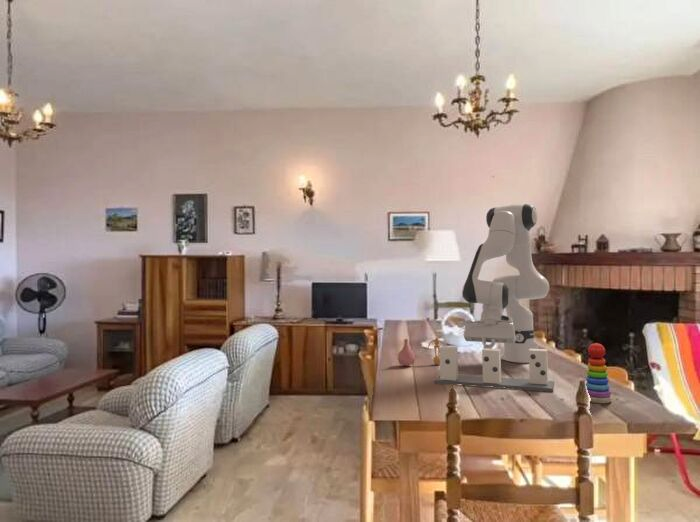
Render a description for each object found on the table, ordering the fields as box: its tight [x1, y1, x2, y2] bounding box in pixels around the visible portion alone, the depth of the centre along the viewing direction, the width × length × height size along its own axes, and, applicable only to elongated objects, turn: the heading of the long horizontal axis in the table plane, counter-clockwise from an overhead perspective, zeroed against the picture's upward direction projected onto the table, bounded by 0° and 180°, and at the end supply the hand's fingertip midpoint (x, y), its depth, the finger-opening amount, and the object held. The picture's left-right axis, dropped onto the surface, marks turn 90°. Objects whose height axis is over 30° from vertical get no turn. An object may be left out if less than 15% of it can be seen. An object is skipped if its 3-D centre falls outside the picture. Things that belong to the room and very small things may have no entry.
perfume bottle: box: [397, 338, 416, 367], centre depth 228 cm, size 8×8×12 cm
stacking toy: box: [585, 342, 613, 404], centre depth 166 cm, size 8×8×19 cm
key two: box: [481, 347, 502, 384], centre depth 189 cm, size 4×6×12 cm
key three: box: [528, 348, 549, 385], centre depth 186 cm, size 4×6×12 cm
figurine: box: [427, 337, 447, 366], centre depth 231 cm, size 8×6×12 cm
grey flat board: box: [434, 374, 555, 393], centre depth 192 cm, size 12×42×1 cm, turn 66°
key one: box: [438, 346, 459, 381], centre depth 196 cm, size 4×6×12 cm
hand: (487, 349), depth 202 cm, fingers closed
